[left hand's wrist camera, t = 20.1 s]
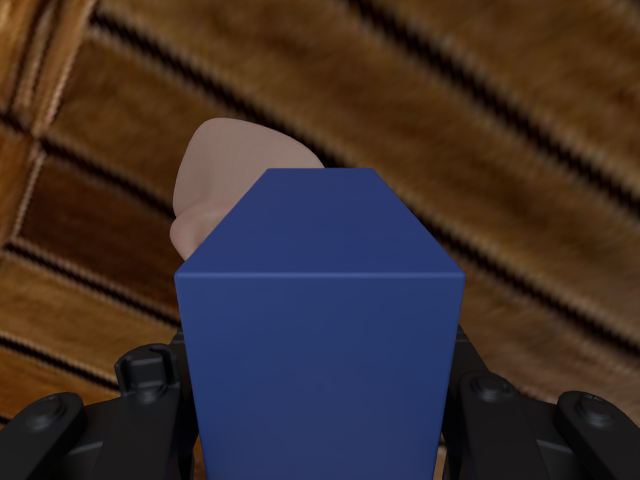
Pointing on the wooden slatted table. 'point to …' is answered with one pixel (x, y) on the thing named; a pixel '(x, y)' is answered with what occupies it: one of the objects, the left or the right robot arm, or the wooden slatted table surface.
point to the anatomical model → (226, 174)
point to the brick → (320, 332)
